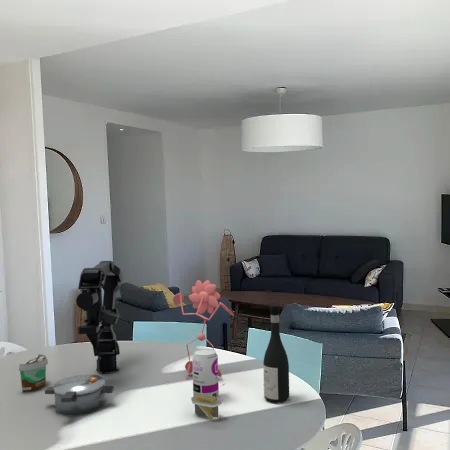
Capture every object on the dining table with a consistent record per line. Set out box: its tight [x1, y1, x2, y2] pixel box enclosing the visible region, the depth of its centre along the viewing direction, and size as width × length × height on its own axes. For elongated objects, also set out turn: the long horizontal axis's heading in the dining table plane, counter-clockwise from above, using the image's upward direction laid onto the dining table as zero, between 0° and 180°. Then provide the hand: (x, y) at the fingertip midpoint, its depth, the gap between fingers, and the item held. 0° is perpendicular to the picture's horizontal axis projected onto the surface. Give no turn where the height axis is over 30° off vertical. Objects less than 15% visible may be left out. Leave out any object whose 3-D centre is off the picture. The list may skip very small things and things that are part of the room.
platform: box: [190, 394, 223, 420], centre depth 148 cm, size 12×18×7 cm, turn 62°
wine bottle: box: [262, 304, 290, 404], centre depth 159 cm, size 8×8×30 cm
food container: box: [18, 353, 49, 393], centre depth 175 cm, size 12×6×10 cm, turn 168°
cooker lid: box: [52, 374, 106, 402], centre depth 156 cm, size 20×16×2 cm
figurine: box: [172, 279, 235, 386], centre depth 183 cm, size 15×26×35 cm, turn 62°
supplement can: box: [191, 348, 220, 400], centre depth 162 cm, size 8×8×15 cm
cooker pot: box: [44, 385, 115, 417], centre depth 158 cm, size 15×21×6 cm
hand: (95, 347), depth 176 cm, fingers closed
